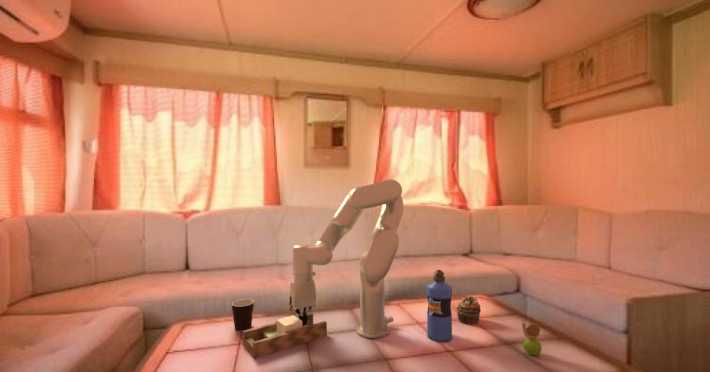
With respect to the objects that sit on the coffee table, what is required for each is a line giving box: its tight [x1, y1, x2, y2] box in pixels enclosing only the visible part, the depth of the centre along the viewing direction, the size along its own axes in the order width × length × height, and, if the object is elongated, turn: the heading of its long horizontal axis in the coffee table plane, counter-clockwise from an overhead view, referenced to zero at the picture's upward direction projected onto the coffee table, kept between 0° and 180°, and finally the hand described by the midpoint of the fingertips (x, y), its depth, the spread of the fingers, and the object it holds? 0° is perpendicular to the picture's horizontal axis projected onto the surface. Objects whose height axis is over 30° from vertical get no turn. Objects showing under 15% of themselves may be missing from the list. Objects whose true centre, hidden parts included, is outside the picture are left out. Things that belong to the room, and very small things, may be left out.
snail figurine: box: [520, 318, 543, 356], centre depth 111 cm, size 5×6×12 cm
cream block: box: [276, 315, 302, 334], centre depth 124 cm, size 7×7×4 cm
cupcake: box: [455, 296, 481, 326], centre depth 139 cm, size 10×10×10 cm
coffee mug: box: [231, 298, 255, 332], centre depth 136 cm, size 12×9×10 cm
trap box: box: [242, 312, 328, 359], centre depth 123 cm, size 28×12×5 cm, turn 127°
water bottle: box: [426, 269, 453, 343], centre depth 125 cm, size 9×9×25 cm
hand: (302, 324), depth 127 cm, fingers closed
